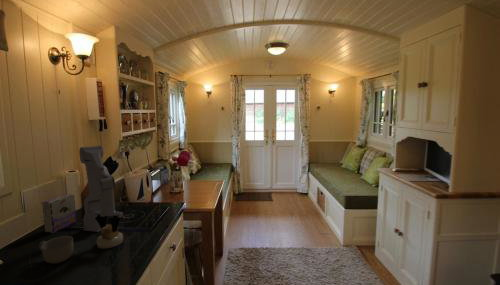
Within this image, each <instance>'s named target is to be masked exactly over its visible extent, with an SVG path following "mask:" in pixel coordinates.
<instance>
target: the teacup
mask: <svg viewBox="0 0 500 285" xmlns="http://www.w3.org/2000/svg"><path fill="white" fill-rule="evenodd" d="M74 246H75V245H74V238H73V237H72V236H69V235H61V236H57V237H53V238H51V239H49V240H47V241H45V240H42V241H41V242H39V244H38V248H39V250H40V251H41V252H42V258H43V260H44V262H46V263H48V264H52V265H56V264H61V263H64V262H65V261H67V260H68V259H69V258H70V257H71V256H72V255H73V253H74V251H75V250H74V249H75V248H74Z"/></svg>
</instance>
